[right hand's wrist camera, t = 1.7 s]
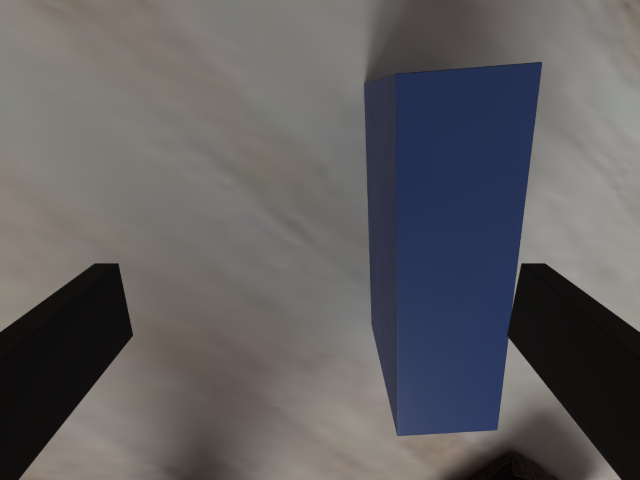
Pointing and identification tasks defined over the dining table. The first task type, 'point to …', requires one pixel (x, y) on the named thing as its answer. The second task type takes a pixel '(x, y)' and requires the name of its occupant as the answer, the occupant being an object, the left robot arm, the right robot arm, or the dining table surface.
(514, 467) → the dark brown irregular piece
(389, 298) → the box
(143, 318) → the dining table surface
